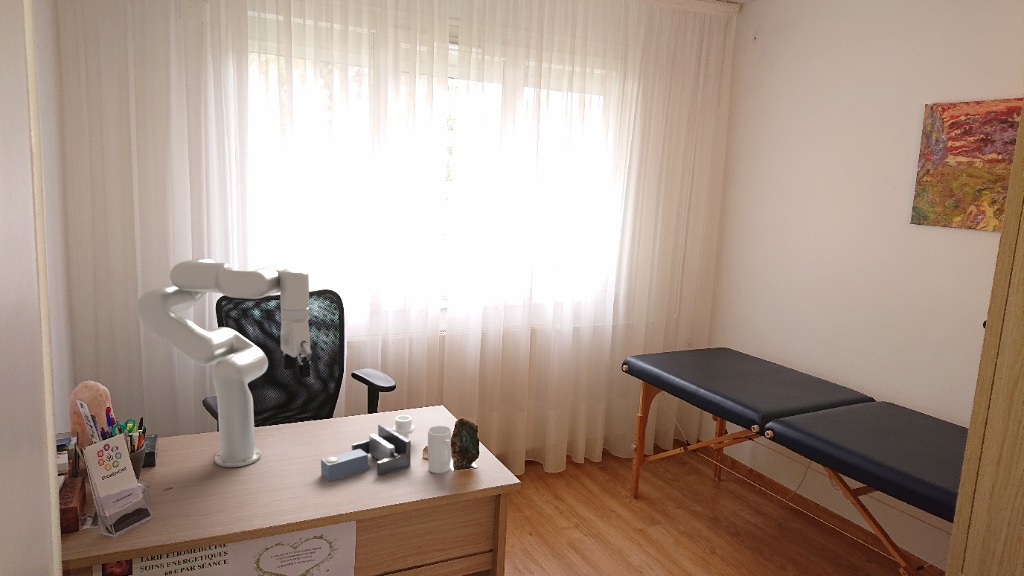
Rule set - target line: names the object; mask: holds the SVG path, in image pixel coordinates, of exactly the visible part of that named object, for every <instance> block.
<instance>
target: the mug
mask: <svg viewBox="0 0 1024 576" xmlns="http://www.w3.org/2000/svg"><path fill="white" fill-rule="evenodd" d="M451 446H452V429H451V427H450V426H446V425H434V426H431V427H429V428H427V458H428V459H427V461H428V462H427V463H428V466H427V468H428V469H427V470H428V471H429V472H431V473H433V474H444V473H447V472H449V471H450V469H451V461H452V447H451Z"/></svg>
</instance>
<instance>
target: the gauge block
mask: <svg viewBox="0 0 1024 576" xmlns="http://www.w3.org/2000/svg"><path fill="white" fill-rule="evenodd" d="M372 461H373V457H372V455H371V454H370V453H369V454H366V453H365V452H364V451H362V450H361V449H357V450H353V451H352V450H350V451H346V452H343V453H340V454H336V455H331V456H329V457H324V458H321V459H320V469H321V473H320V474H321V475H320V476H322V477H323V478H324V479H325V480H326V481H328V483H329V482H332V481H336V480H339V479H342V478H346V477H349V476H352V475H355V474H359V473H362V472H365V471H368V470H369V463H371V462H372Z"/></svg>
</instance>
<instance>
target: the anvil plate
mask: <svg viewBox="0 0 1024 576" xmlns="http://www.w3.org/2000/svg"><path fill="white" fill-rule="evenodd" d="M368 438H369V454H371V456H373V457H374V458H375V459H377V460H378V461H381V460H384V459H387V458H390V457H393V456H394V457H398V454H396V453H395V447H394V446H393V445H391V444H389V443H388V442H386V441H385V440H383V439H382V438H380V437H379V436H378V434H375V433H371V434H369V435H368Z"/></svg>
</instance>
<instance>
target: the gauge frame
mask: <svg viewBox="0 0 1024 576" xmlns="http://www.w3.org/2000/svg"><path fill="white" fill-rule="evenodd" d="M377 426H378V428H377V431H378V432H377V436H379V437H380V438H382V439H383V440H385V441H386V442H388V443H389V444H391V445H393V446H394V447H395V453H396V454H398V457H394V456H393V457H390V458H387V459H384V460H381V461H380V460H378V461H376V476H378V477H382V476H384V475H385V476H386V475H389V474H392V473H394V472H397V471H400V470H404V469H407V468H410V467H411V463H412V462H411V461H412V460H411V458H412V457H411V453H412V451H411V447H412V446H411V445H412V444H411V442H412V441H411V440H410V439H409V440H408V439H407V438H405V437H403V436H402V435H400V434H399V433H397V432H395V431H394V430H392V429H393V428H390V427H389V426H387V425H385V424H384V423H379V424H378V425H377ZM357 449H361V450H362V451H364V452H365V453H366V454H370V453H369V439H364V440H361V441H358V442H354V443H352V444H351V451H353V450H357Z"/></svg>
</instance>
